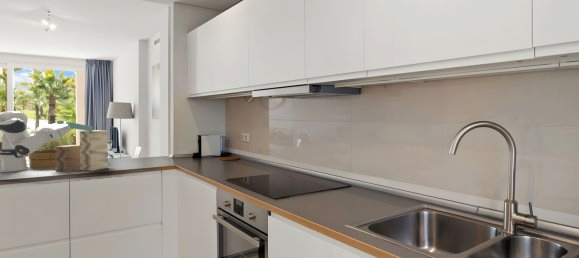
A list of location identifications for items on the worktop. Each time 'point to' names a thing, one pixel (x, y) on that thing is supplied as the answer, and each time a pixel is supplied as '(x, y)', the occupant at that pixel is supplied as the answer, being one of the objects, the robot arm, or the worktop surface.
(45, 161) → the wooden planter box
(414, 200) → the worktop surface
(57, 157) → the low stand
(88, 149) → the tall stand
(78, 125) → the batten
